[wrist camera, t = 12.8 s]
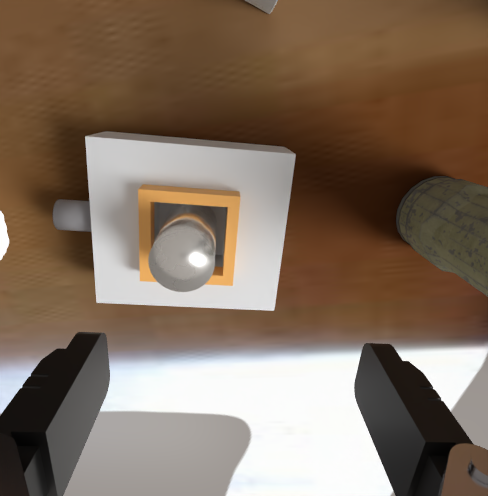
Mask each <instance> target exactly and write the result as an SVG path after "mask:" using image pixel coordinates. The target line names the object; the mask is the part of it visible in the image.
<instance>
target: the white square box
mask: <svg viewBox="0 0 488 496" xmlns="http://www.w3.org/2000/svg"><path fill="white" fill-rule="evenodd" d="M85 142H86V157H87V171H88V186H89V200H90V201H78V200H64V199H58V200H57V201H56V203H55V205H54V208H53V222H54V225H55V227H56V229H58V230H72V231H88V232H92V244H93V258H94V272H95V287H96V301H97V303H115V304H137V305H159V306H182V307H204V308H226V309H248V310H270V311H274V308H275V301H276V294H277V287H278V280H279V273H280V265H281V258H282V251H283V244H284V237H285V229H286V222H287V215H288V208H289V201H290V193H291V186H292V179H293V172H294V165H295V157H296V154H295V153H293V152H292V151H290V150H289V149H287V148H286V147H282V146H270V145H259V144H247V143H236V142H224V141H213V140H201V139H190V138H178V137H167V136H155V135H144V134H133V133H121V132H110V131H105V132H101V133H96V134H92V135H88V136H85ZM175 204H189V205H204V206H210V207H211V209H212V210H213V212H214V214H215V216H216V221H217V226H216V248H215V267H214V271H213V274H212V276H211V278H210V279H209V280H208V282H207V283H206V284H205V285H203V286H202V287H200V288H198V289H196V290H193V291H189V292H176V291H172V290H169V289H167V288H165V287H163V286H162V285H161V284H159V283H158V282H157V281H156V280H155V278H154V277H153V275H152V274H151V271H150V269H149V263H148V258H149V253H150V250H151V248H152V246H153V244H154V242H155V240H156V238H157V236H158V234H159V232H160V230H161V228H162V226H163V224H164V222H165V220H166V218H167V215H168V213H169V211H170V210H171V208H172V207H173V206H174V205H175Z"/></svg>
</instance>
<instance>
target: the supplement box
mask: <svg viewBox="0 0 488 496" xmlns="http://www.w3.org/2000/svg"><path fill="white" fill-rule="evenodd" d="M245 1H247V2H248V3H250V4H252V5H254V6H256V7H257V8H259V9H261V10H263V11H264V12H266V13H268V14H270V13H271V12H272V10H273V8H274V6H275V5H276V3H277V1H278V0H245Z"/></svg>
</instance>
